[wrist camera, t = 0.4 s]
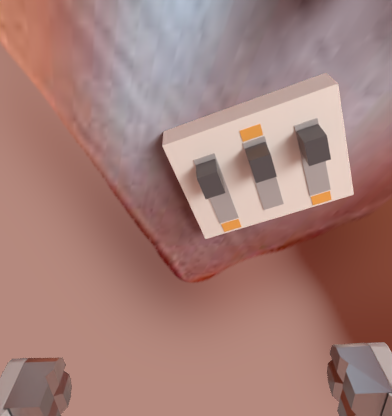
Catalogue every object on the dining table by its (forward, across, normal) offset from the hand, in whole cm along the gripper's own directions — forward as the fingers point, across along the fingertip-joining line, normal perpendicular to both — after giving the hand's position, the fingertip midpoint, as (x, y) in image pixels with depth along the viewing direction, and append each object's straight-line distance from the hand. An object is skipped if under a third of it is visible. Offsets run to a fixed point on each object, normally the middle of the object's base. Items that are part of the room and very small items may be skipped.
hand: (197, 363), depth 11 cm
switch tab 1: (+33, -1, +9) cm, 34 cm away
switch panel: (+38, -8, +9) cm, 39 cm away
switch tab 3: (+33, -13, +5) cm, 36 cm away
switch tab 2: (+33, -7, +7) cm, 34 cm away
